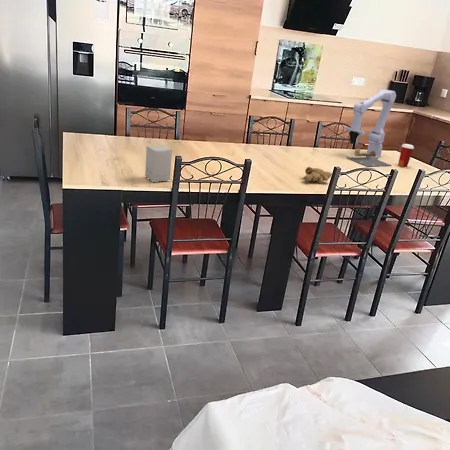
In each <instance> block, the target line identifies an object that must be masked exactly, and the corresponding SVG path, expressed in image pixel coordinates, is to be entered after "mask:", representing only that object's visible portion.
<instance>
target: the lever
mask: <svg viewBox="0 0 450 450" xmlns="http://www.w3.org/2000/svg"><path fill="white" fill-rule="evenodd" d="M361 149H362V148H357V147H355V149H354V153H353V156H354V157H366V156H376V153H375V151H372V152H369V153H367V152H363V153H361Z"/></svg>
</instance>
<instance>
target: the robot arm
mask: <svg viewBox="0 0 450 450" xmlns="http://www.w3.org/2000/svg"><path fill="white" fill-rule="evenodd" d="M396 97H397V94H396V91H395V90H390V89H385V88H382V89H380V90H378V92H377V93H376V94H375V95H373V96H372V97H366V98H365V99H363V100H362V101H360V102H357V103H355V104H354V105H353V108H352V111H353V113H352V114H353V117H352V120H351V125H350V127H349V126H345V127H344V131H349V132H348V135H349V140H350V141H349V143H350V144H351V145H353V144H355V141H356V139H358V137H359V136H360V135H361V136H365V134H366V131H363V130H361V125H362V121H363V117H364V114H366V111H367V110H368V109H369V108H371V107H373V106H374V103H376V102H378V101H381V103H382V104H383V106H382V108H381V111H380V114H379V116H378V118H377V121H376V124H375V126H374V128H371V129H370V131H369V133H368V134H367V140H368V145H367V150H366V153H369V152H372V151H375V153H376V156H377V157H378V158H381V157H382V155H381V154H382V151H383V143H384V140H385V135H386V133H385V131H384V128H385V126H386V123H387V120H388V117H389V115H390V113H391V110H392V107H393V105H394V104H395V100H396Z"/></svg>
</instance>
